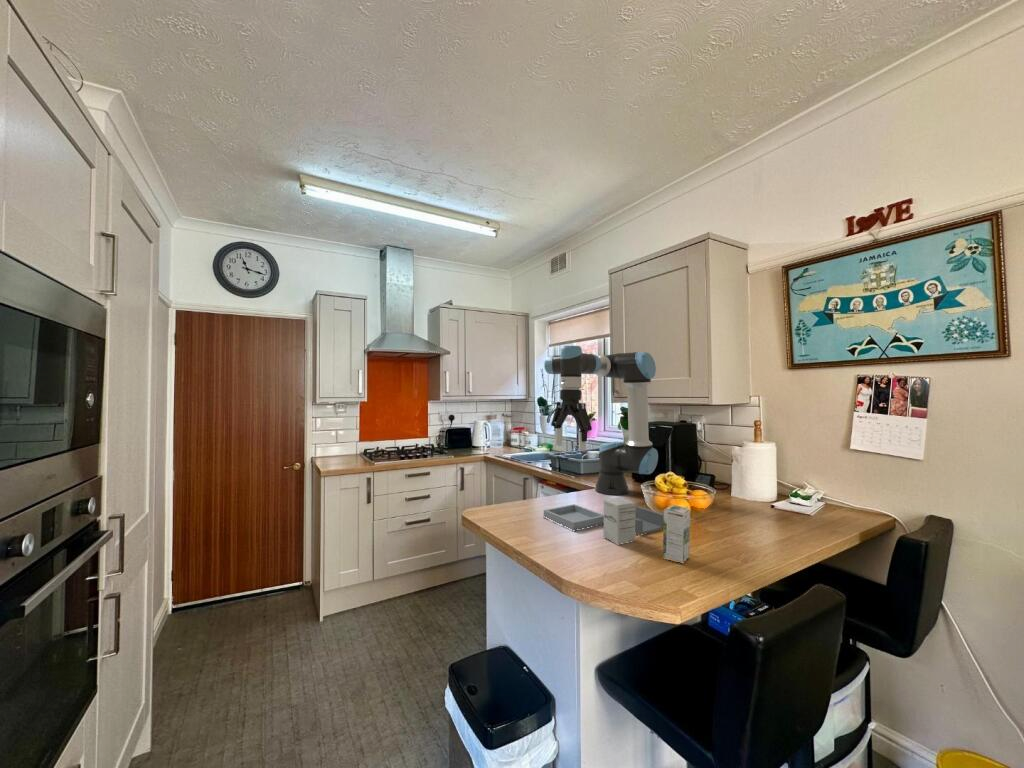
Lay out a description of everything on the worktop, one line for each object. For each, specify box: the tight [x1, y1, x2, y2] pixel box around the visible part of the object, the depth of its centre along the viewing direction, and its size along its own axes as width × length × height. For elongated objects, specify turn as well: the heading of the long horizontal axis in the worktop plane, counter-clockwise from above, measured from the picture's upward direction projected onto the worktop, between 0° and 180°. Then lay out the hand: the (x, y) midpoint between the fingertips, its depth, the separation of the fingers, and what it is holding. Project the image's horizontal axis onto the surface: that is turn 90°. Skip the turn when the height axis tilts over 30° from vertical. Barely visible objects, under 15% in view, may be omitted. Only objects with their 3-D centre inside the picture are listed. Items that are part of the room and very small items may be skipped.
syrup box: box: [662, 505, 691, 562], centre depth 119 cm, size 6×6×14 cm
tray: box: [543, 503, 604, 530], centre depth 152 cm, size 15×17×3 cm
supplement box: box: [603, 497, 637, 544], centre depth 133 cm, size 7×7×13 cm
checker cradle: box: [635, 505, 664, 535], centre depth 146 cm, size 13×14×6 cm
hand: (570, 448), depth 148 cm, fingers open, 13 cm apart
